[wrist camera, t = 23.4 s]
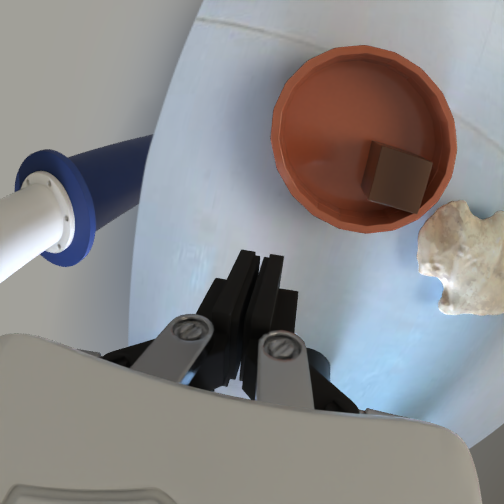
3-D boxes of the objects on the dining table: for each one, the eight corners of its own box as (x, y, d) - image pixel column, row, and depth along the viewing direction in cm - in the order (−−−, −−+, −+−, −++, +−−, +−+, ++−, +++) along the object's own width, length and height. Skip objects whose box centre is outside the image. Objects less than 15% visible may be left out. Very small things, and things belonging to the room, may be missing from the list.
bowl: (270, 200, 29) (262, 215, 25) (286, 44, 22) (280, 32, 18) (418, 228, 27) (432, 247, 23) (446, 80, 20) (467, 77, 16)
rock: (450, 165, 24) (545, 253, 24) (384, 272, 30) (488, 330, 30) (466, 174, 20) (560, 267, 21) (391, 292, 27) (498, 348, 27)
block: (360, 186, 26) (367, 200, 22) (371, 139, 24) (381, 145, 20) (404, 199, 26) (417, 214, 22) (416, 154, 23) (433, 162, 20)
